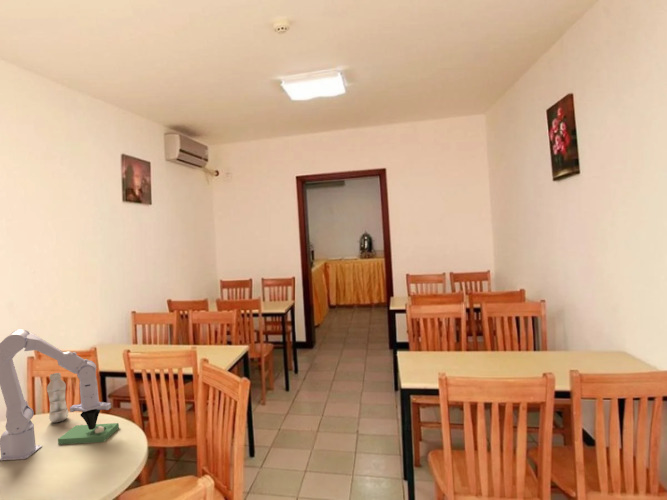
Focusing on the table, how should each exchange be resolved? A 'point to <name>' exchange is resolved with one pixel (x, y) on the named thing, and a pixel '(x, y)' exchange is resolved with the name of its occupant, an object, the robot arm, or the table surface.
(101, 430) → the ball
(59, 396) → the plastic bottle
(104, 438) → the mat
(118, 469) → the table surface
